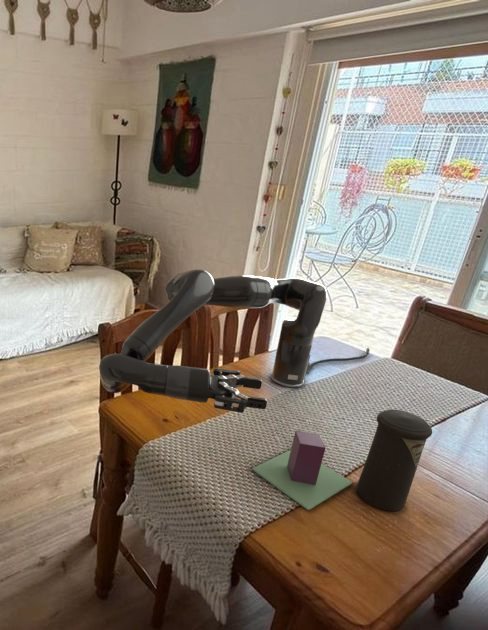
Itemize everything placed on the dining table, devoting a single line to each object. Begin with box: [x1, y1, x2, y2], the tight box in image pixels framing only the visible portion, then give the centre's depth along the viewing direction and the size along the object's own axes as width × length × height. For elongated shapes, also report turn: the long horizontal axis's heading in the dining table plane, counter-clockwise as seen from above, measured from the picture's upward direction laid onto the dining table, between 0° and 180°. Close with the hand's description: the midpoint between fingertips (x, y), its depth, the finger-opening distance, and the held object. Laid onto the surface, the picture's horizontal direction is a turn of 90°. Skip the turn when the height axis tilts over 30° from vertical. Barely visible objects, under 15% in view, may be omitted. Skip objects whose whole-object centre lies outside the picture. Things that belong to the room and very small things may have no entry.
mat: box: [251, 449, 353, 511], centre depth 99 cm, size 16×14×1 cm
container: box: [356, 409, 433, 512], centre depth 90 cm, size 9×9×20 cm
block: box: [287, 430, 326, 485], centre depth 97 cm, size 5×5×10 cm
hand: (263, 393), depth 95 cm, fingers open, 8 cm apart
